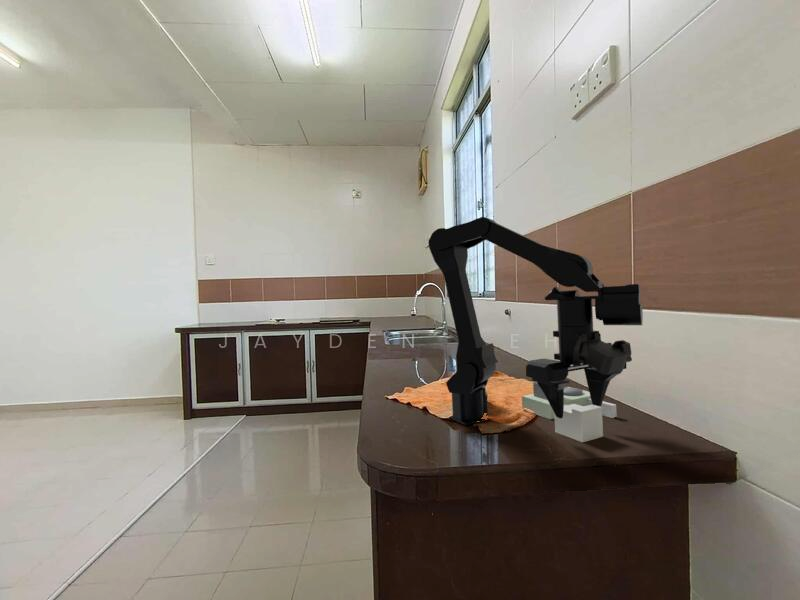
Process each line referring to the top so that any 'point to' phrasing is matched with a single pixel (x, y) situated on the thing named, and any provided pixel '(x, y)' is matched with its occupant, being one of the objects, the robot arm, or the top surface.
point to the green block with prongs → (571, 396)
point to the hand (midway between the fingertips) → (578, 413)
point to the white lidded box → (580, 422)
